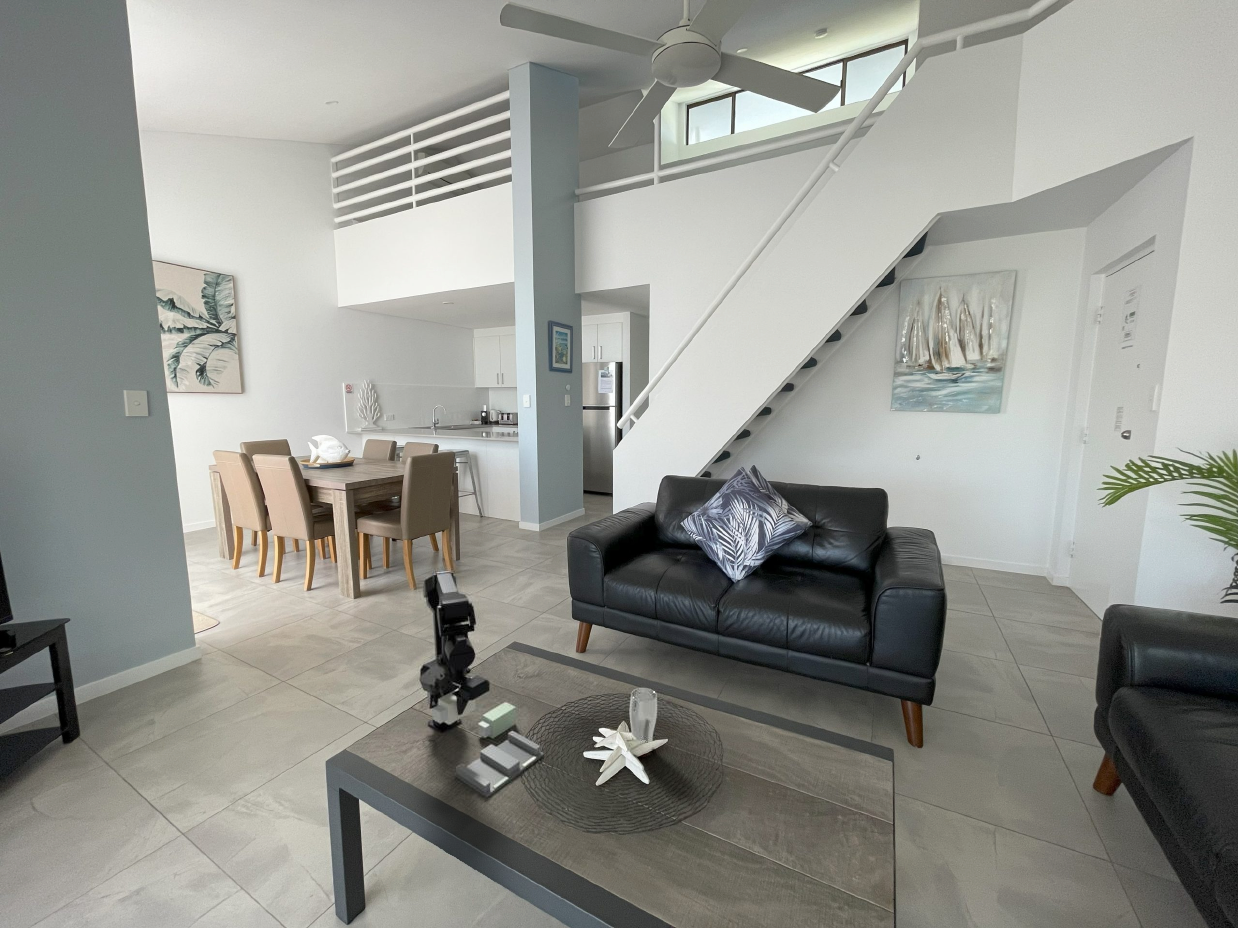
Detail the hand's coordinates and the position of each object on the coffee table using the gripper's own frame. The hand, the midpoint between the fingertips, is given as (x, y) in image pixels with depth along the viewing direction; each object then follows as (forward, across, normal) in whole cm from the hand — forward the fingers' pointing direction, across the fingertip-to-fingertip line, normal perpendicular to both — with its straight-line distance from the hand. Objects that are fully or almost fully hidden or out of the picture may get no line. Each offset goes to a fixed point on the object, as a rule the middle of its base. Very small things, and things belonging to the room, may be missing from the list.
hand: (454, 711), depth 127 cm
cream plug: (+1, 0, 0) cm, 1 cm away
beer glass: (+12, +36, +30) cm, 48 cm away
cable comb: (+12, +11, +5) cm, 17 cm away
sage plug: (+12, 0, +14) cm, 18 cm away
